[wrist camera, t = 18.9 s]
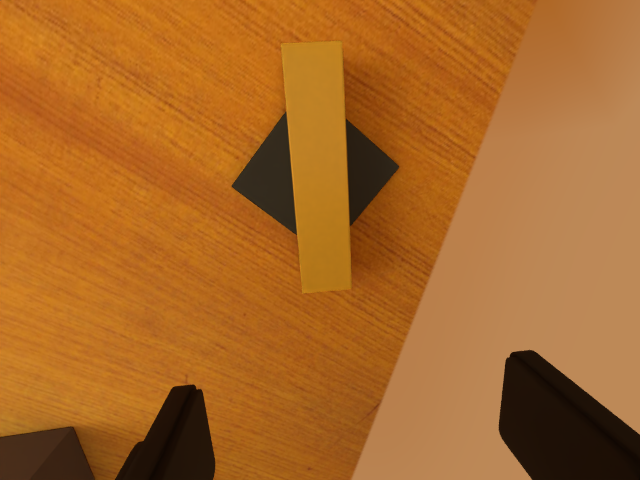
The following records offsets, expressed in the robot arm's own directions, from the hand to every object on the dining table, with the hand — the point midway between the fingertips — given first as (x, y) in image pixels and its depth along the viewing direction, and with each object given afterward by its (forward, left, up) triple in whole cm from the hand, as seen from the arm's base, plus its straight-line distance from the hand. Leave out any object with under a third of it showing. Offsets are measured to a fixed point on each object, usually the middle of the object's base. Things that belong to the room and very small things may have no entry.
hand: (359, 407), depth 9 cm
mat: (+4, -4, -14) cm, 15 cm away
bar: (+4, -4, -13) cm, 15 cm away
